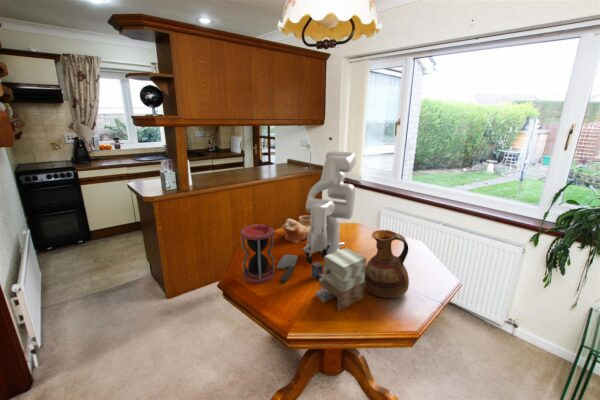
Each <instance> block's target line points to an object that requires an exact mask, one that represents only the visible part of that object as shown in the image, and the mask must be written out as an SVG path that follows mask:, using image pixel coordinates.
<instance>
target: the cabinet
mask: <svg viewBox="0 0 600 400" xmlns="http://www.w3.org/2000/svg"><path fill="white" fill-rule="evenodd" d="M366 265H367V257H366V256H364V255H363V254H360V253H358V252H356V251H354V250H352V249H350V248H348V247H345V248H342V249H341V250H340V251H337V252H334V253H331V254H329V255H326V256H324V258H323V276H324V277H323V278H321V279H318V285H319V286H321V287H322V289H323V288H325V289H326V290H327V291H329V292H330V293H332V294H333V295H334V297H336V298H337V301H336V302H337V303H336V309H337V310H338V311H341V310H343V309H345V308H347V307H349V306H351V305H352V304H354V303H356V302H358V301H360V300H362V299H364V298H365V297H366V289H367V288H366V282H365V270H366Z"/></svg>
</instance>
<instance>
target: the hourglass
mask: <svg viewBox="0 0 600 400" xmlns="http://www.w3.org/2000/svg"><path fill="white" fill-rule="evenodd" d="M274 233H275V230H274V228H273V227H272V226H270V225H269V224H268V225H267V224H263V223H258V224H250V225H247V226H245V227H243V228H242V229H241V231H240V236H241V244H242V245H241V247H242V250H243V251H244V252H245V257H243V262H242V264H243V266H242V267H243V273H242V274H243V278H244V280H245V281H246V282H249V283H251V284H262V283H266V282H269V281H270V280H272V279H273V278H274V277H275V272H276V271H275V264H274V263H275V259H274V256H273V255H272V252H271V250H272V249H273V247H274V235H275V234H274ZM269 238H270V247H269V248H268V250H267V254H268V256H269V257H270V259H271V265H270V262H269V259H268V258H267V256H265V255H264V253H262V252H263V251H264V250H265V249H266V247H268V245H269ZM245 240H246V244H247V246H248V248H250V250H252V252H254V253H255V254H254V255H252V257H251V258H250V259H249V261H248V267H247V266H246V263H247V262H246V260H247V259H248V258H249V255H250V253H249V250H248V249H246V247H245V245H246V244H245Z"/></svg>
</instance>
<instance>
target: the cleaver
mask: <svg viewBox="0 0 600 400" xmlns="http://www.w3.org/2000/svg"><path fill="white" fill-rule="evenodd" d="M297 262H298V255H295V254H284V255H283V256H282V257H281V259H280V260H279V261H278V263H277V266H276V269H278V270H286V271H285V272H284V273H283V275H282V276H281V277H280V279H279V280H278V282H279V283H280V284H285V283H287V281H288V280H289V279H290V278H291V276H292V274H293V273H294V271H295V266H296V263H297Z"/></svg>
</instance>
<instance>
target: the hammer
mask: <svg viewBox="0 0 600 400" xmlns="http://www.w3.org/2000/svg"><path fill="white" fill-rule="evenodd" d="M323 273H324V264H321V263H320V262H319V261H316V262H312V264H311V273H310V274H311V277H312V278H313V279H314V280H316V281H317V280H319V279H321V278H323V277H324V274H323Z"/></svg>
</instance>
